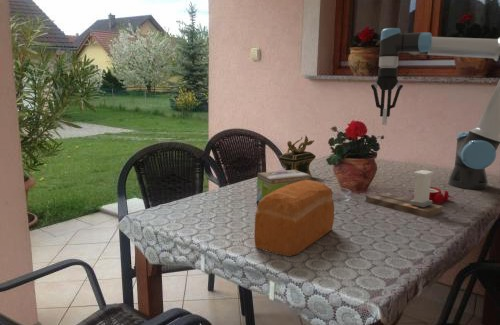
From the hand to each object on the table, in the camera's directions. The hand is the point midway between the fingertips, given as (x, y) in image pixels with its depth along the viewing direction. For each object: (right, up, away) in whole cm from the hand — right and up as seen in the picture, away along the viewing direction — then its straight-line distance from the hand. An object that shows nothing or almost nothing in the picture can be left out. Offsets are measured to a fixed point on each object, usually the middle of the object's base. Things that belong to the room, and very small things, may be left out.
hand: (384, 124), depth 173 cm
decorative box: (-34, -23, +20) cm, 45 cm away
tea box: (-46, -34, -37) cm, 69 cm away
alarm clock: (+12, -31, -18) cm, 38 cm away
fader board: (-2, -32, -26) cm, 41 cm away
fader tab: (+2, -31, -32) cm, 44 cm away
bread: (-44, -38, -56) cm, 81 cm away
